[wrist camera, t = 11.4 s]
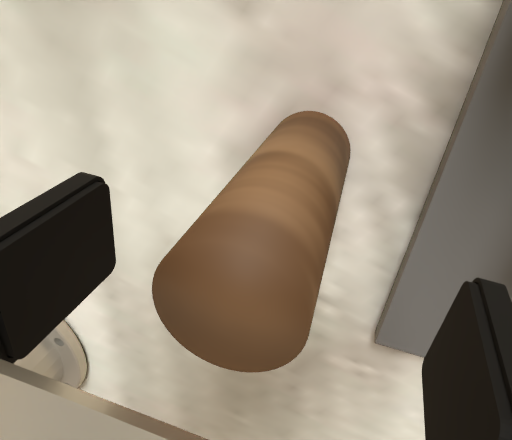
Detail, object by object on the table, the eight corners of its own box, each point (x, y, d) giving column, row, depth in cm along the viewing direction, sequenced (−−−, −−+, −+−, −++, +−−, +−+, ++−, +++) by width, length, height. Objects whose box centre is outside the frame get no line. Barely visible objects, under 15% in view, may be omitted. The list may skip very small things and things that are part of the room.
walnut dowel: (339, 196, 20) (293, 391, 10) (264, 179, 21) (153, 344, 11) (359, 120, 18) (326, 268, 8) (275, 103, 19) (150, 221, 9)
